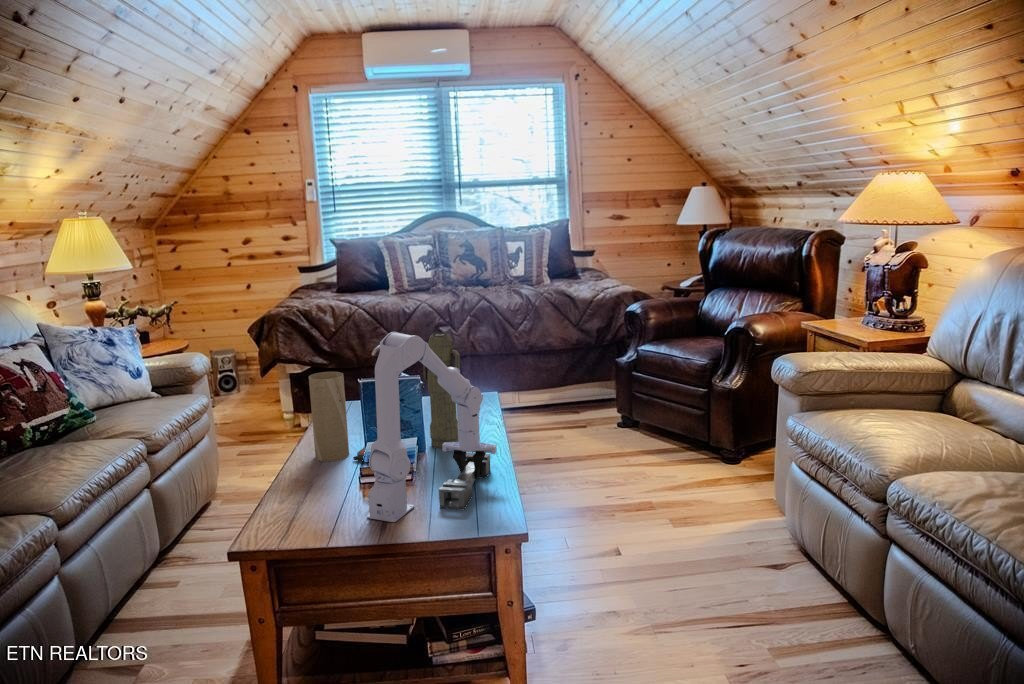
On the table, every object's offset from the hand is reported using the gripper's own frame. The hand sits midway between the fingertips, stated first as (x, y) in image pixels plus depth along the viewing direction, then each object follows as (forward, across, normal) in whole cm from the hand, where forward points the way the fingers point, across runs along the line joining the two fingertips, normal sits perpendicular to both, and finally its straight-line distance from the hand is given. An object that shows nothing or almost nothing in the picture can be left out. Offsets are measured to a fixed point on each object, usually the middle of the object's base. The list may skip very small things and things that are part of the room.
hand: (470, 477), depth 192 cm
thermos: (+2, +16, -29) cm, 33 cm away
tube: (+2, +47, -14) cm, 50 cm away
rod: (0, 0, +4) cm, 4 cm away
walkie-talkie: (+2, +29, -12) cm, 31 cm away
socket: (+1, 0, -6) cm, 6 cm away
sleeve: (+1, 0, +13) cm, 13 cm away
